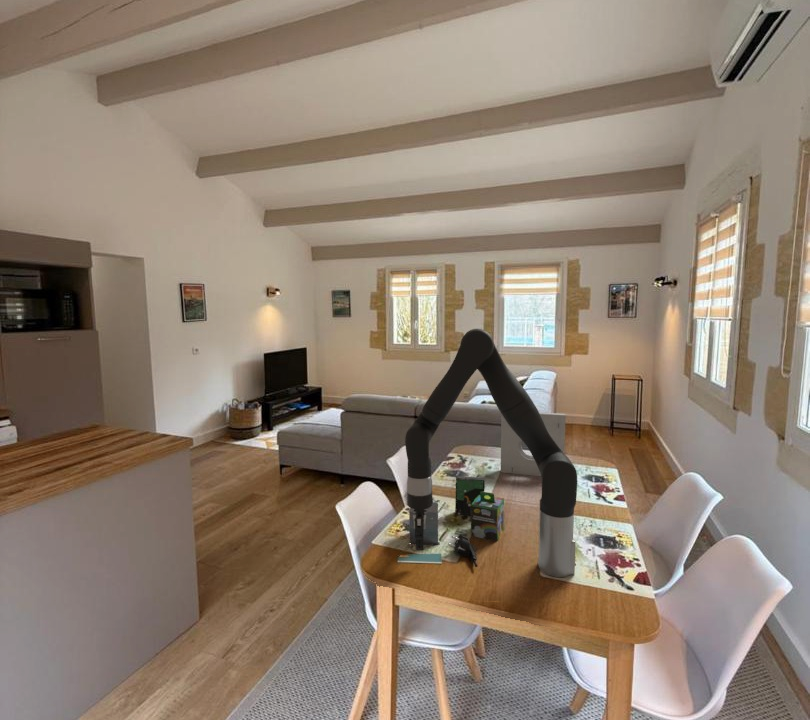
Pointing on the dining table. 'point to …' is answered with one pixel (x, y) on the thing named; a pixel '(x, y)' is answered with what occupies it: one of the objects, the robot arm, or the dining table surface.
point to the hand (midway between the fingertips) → (420, 542)
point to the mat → (421, 558)
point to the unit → (431, 526)
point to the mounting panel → (512, 449)
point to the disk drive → (467, 493)
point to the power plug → (464, 548)
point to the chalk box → (487, 516)
